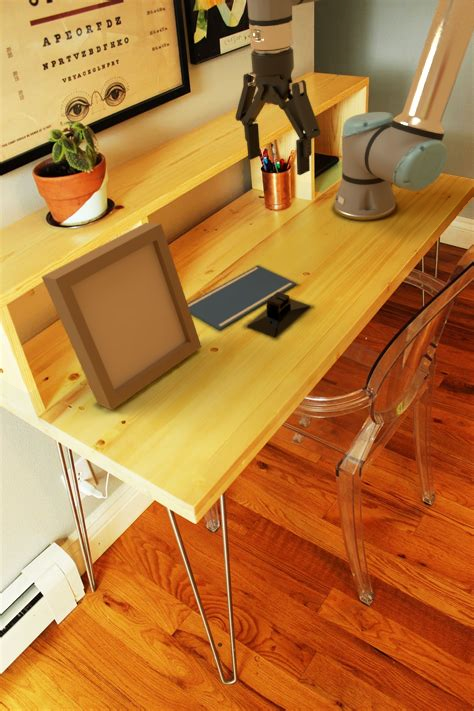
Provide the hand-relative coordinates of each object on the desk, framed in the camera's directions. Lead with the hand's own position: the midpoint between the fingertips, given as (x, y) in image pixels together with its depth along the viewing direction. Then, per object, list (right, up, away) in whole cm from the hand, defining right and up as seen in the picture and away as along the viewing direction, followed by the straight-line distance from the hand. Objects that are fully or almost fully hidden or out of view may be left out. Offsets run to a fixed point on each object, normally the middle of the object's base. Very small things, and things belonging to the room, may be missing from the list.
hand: (278, 164), depth 124 cm
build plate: (0, -30, +2) cm, 30 cm away
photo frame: (-28, -40, -6) cm, 49 cm away
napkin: (-8, -25, +9) cm, 28 cm away
